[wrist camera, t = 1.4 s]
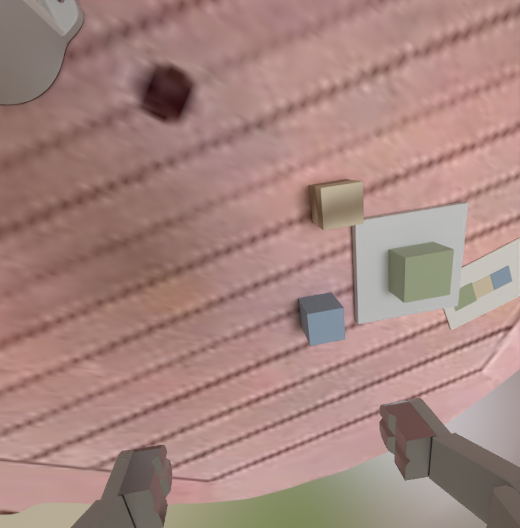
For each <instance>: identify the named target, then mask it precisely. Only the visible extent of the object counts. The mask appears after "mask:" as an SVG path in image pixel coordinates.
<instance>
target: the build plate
mask: <svg viewBox="0 0 520 528" xmlns="http://www.w3.org/2000/svg"><path fill="white" fill-rule="evenodd" d="M467 211H468V203H467V202H457V203H451V204H445V205H438V206H432V207H426V208H420V209H414V210H408V211H402V212H396V213H390V214H384V215H378V216H372V217H366V218H364V224H359V225H353V226H352V242H353V271H354V300H355V321H356V322H357V323H358V324H362V323H368V322H373V321H379V320H384V319H390V318H395V317H400V316H406V315H411V314H417V313H422V312H427V311H433V310H438V309H444V308H449V307H454V306H458V300H459V290H460V281H461V271H462V261H463V251H464V241H465V231H466V221H467Z"/></svg>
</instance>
